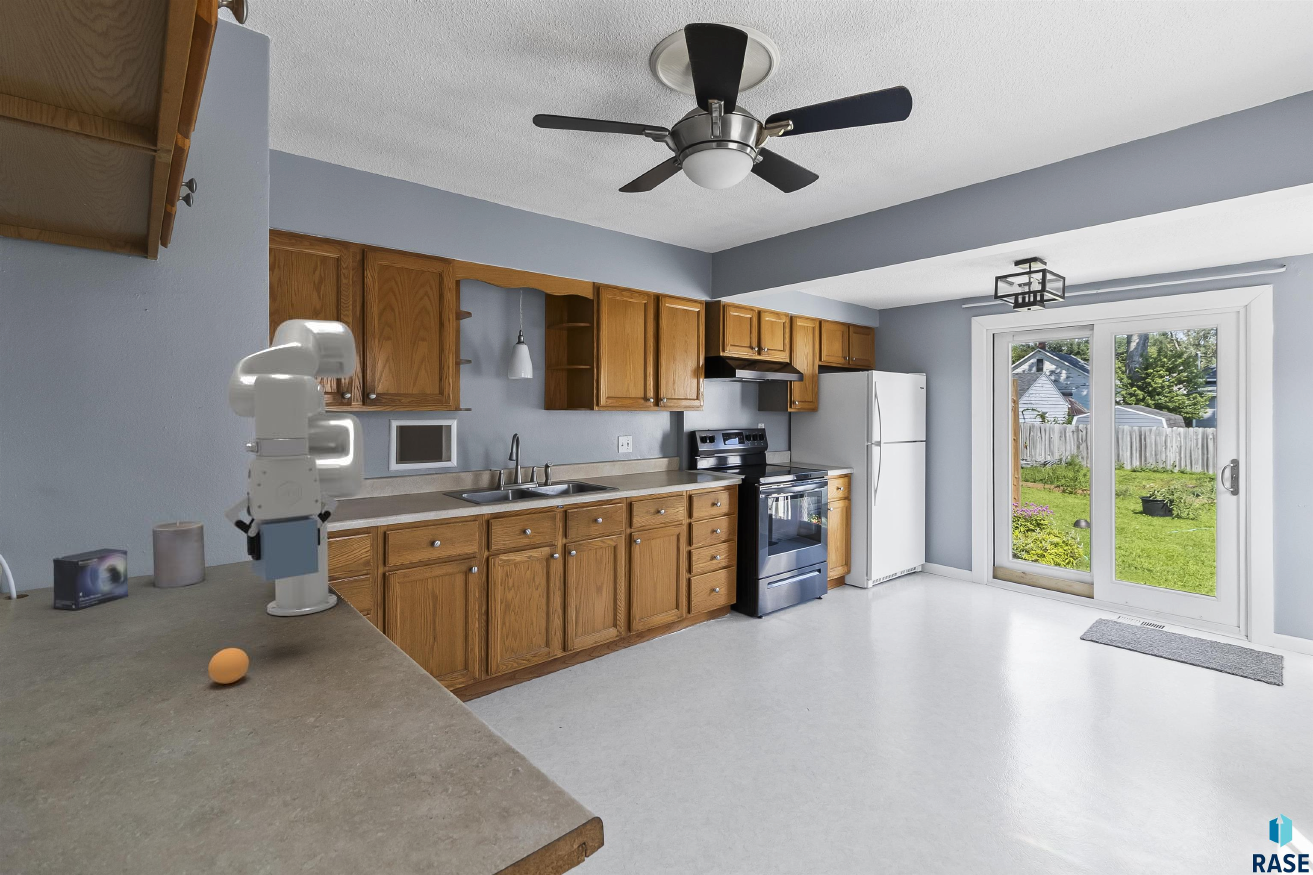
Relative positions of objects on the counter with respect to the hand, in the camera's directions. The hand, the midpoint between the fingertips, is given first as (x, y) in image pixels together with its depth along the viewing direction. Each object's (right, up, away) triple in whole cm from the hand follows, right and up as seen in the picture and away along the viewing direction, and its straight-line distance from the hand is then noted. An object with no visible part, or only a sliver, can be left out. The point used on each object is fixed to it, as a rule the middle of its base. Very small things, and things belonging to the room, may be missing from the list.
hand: (285, 554), depth 105 cm
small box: (-58, -16, +29) cm, 66 cm away
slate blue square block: (0, -3, 0) cm, 3 cm away
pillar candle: (-51, -15, +44) cm, 69 cm away
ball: (-2, -15, -11) cm, 18 cm away
